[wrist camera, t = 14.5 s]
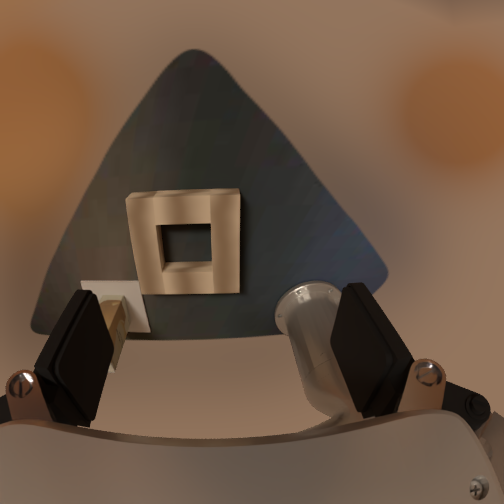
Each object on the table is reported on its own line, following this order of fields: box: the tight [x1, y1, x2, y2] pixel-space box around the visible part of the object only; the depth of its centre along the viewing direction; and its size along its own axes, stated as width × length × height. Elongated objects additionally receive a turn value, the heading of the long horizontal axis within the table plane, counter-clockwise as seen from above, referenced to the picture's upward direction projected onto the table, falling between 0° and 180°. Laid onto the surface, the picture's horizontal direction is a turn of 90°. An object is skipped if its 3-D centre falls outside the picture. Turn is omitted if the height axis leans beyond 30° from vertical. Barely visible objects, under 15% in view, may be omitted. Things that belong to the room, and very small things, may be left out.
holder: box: [126, 189, 240, 294], centre depth 40 cm, size 15×15×3 cm
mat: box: [81, 281, 151, 332], centre depth 46 cm, size 11×11×1 cm
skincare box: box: [99, 295, 131, 373], centre depth 40 cm, size 6×4×12 cm
